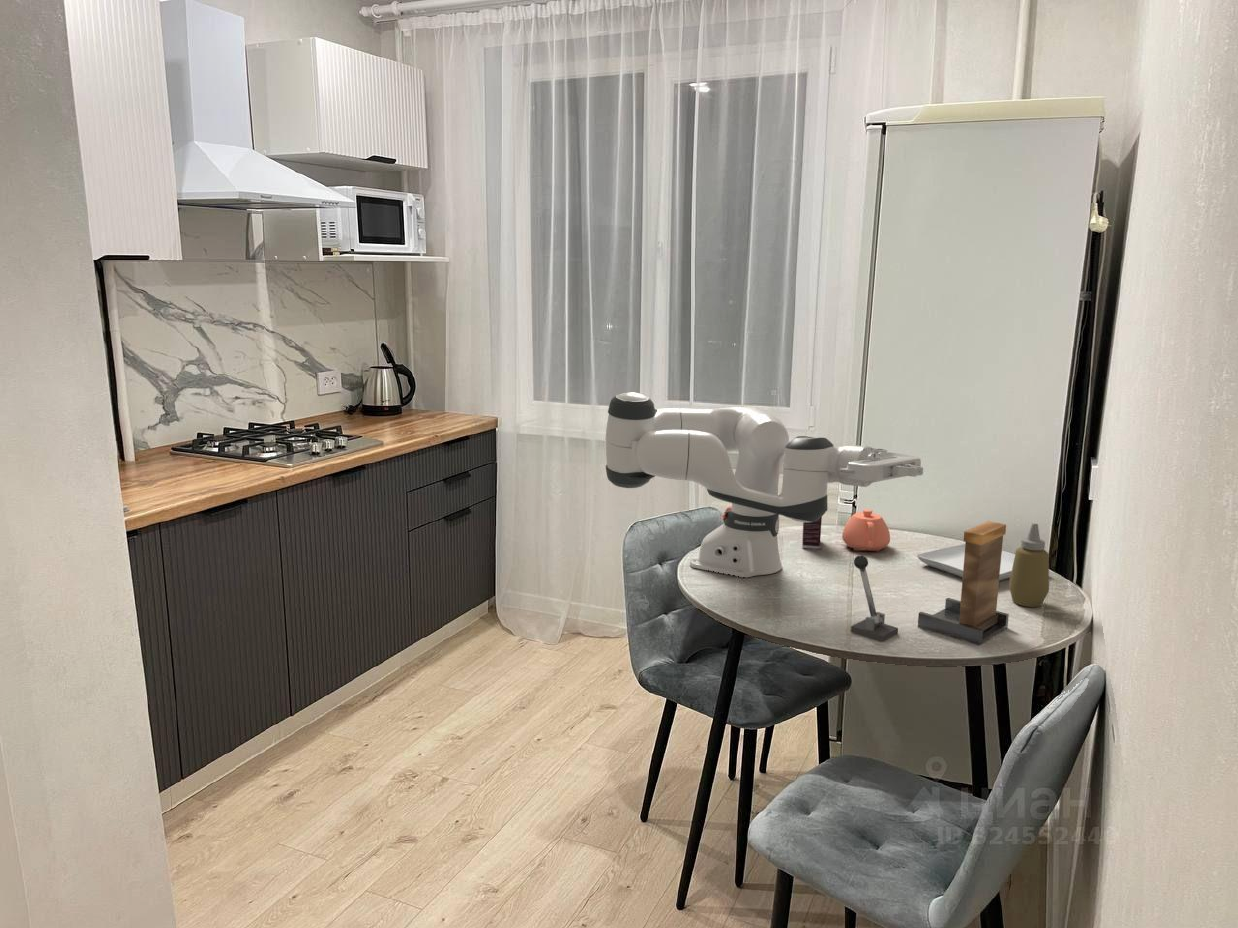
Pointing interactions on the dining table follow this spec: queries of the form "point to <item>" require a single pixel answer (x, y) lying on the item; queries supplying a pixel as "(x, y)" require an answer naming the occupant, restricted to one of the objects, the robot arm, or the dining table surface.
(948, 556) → the salad plate
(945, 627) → the paddle track
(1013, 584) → the squeeze bottle
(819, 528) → the supplement box
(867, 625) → the lever base
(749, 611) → the dining table surface
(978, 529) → the walnut paddle
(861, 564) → the toggle lever
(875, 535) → the sugar bowl
